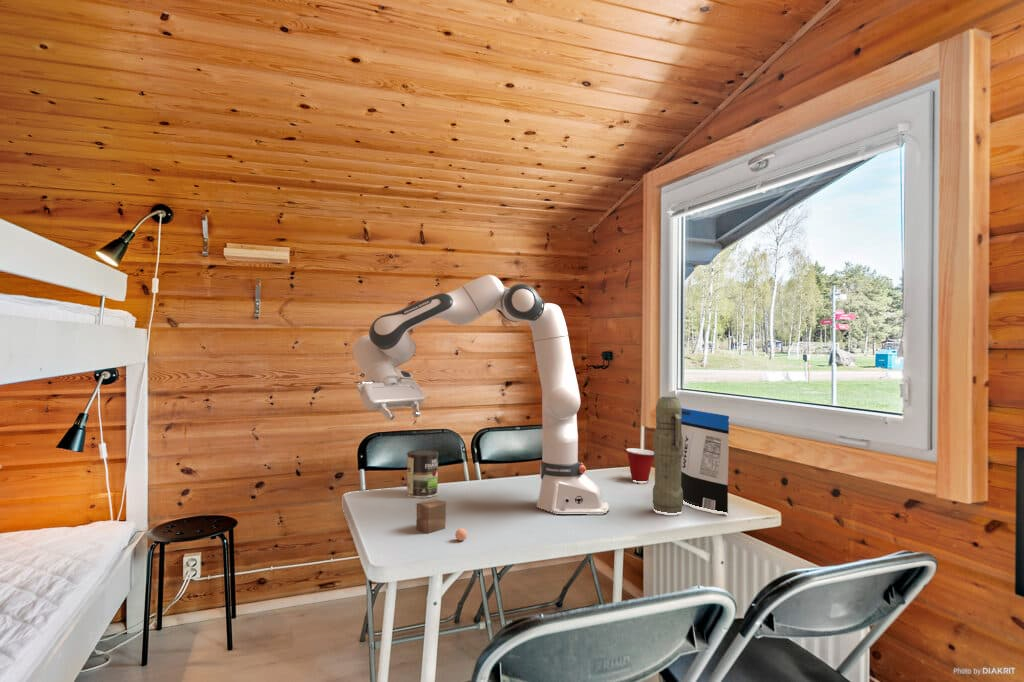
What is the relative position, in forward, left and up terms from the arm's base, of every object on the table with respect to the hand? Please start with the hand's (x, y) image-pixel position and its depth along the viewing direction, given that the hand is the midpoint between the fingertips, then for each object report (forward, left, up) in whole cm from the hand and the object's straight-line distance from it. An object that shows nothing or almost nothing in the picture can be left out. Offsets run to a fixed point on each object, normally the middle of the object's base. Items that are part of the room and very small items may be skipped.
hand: (405, 417), depth 167 cm
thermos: (-76, -22, -30) cm, 85 cm away
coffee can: (+3, -30, -30) cm, 42 cm away
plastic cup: (-72, -61, -30) cm, 99 cm away
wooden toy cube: (-10, +6, -29) cm, 32 cm away
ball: (-19, +14, -29) cm, 38 cm away
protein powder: (-88, -30, -30) cm, 98 cm away
